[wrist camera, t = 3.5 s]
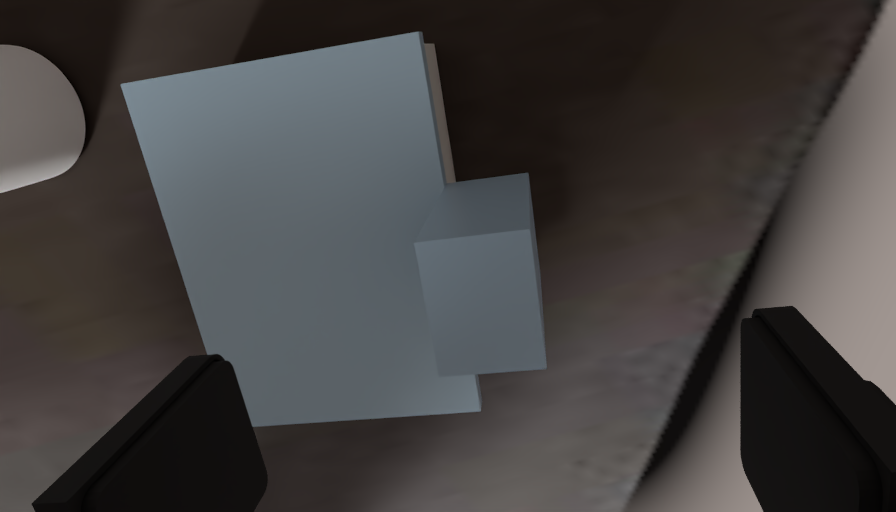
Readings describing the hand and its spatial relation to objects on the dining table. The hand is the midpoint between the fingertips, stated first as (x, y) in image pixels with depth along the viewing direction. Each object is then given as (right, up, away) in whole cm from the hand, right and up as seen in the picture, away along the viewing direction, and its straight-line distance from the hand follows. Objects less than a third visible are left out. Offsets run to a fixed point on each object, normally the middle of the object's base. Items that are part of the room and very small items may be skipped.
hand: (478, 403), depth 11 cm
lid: (-4, +3, +13) cm, 14 cm away
